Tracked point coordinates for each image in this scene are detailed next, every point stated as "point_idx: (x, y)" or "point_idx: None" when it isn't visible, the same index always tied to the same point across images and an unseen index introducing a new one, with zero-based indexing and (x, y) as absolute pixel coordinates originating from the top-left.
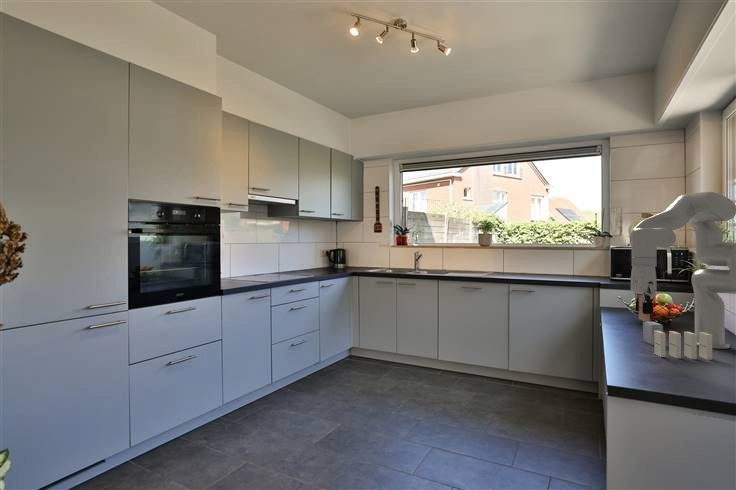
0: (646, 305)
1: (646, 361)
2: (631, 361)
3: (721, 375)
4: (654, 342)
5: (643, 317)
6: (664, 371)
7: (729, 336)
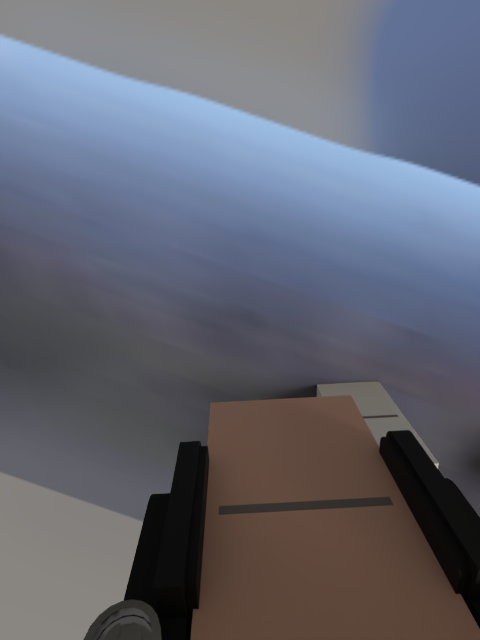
0: (133, 570)
1: (222, 294)
2: (200, 218)
3: (80, 481)
4: (401, 415)
5: (240, 421)
6: (52, 307)
7: None
